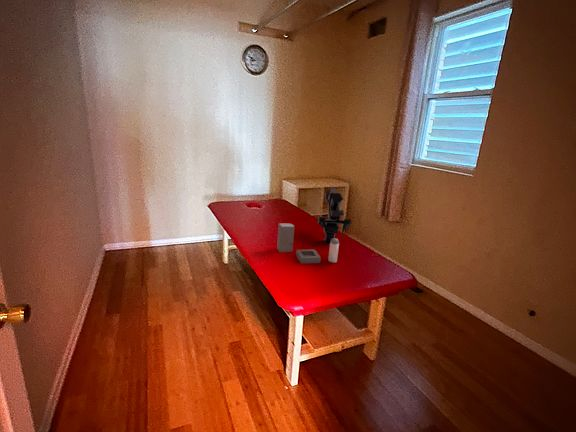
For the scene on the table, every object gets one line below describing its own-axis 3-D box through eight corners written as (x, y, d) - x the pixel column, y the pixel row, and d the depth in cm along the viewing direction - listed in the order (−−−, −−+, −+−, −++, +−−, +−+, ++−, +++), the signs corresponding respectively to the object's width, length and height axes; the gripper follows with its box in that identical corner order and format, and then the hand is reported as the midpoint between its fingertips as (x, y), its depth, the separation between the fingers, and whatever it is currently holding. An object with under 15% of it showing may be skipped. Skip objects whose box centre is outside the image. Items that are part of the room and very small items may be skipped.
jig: (296, 255, 182) (296, 249, 181) (314, 254, 184) (314, 249, 183) (300, 263, 171) (301, 258, 170) (320, 262, 174) (320, 257, 173)
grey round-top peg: (327, 258, 179) (329, 236, 175) (335, 258, 180) (337, 236, 176) (329, 262, 175) (332, 240, 171) (338, 262, 176) (340, 240, 172)
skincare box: (279, 252, 183) (280, 227, 179) (276, 247, 190) (277, 222, 185) (293, 251, 186) (295, 226, 181) (290, 247, 192) (291, 222, 188)
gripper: (320, 203, 181) (318, 227, 173) (352, 205, 180) (352, 230, 173) (318, 212, 190) (317, 235, 183) (349, 214, 190) (349, 238, 182)
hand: (334, 234), depth 180 cm, fingers open, 9 cm apart
